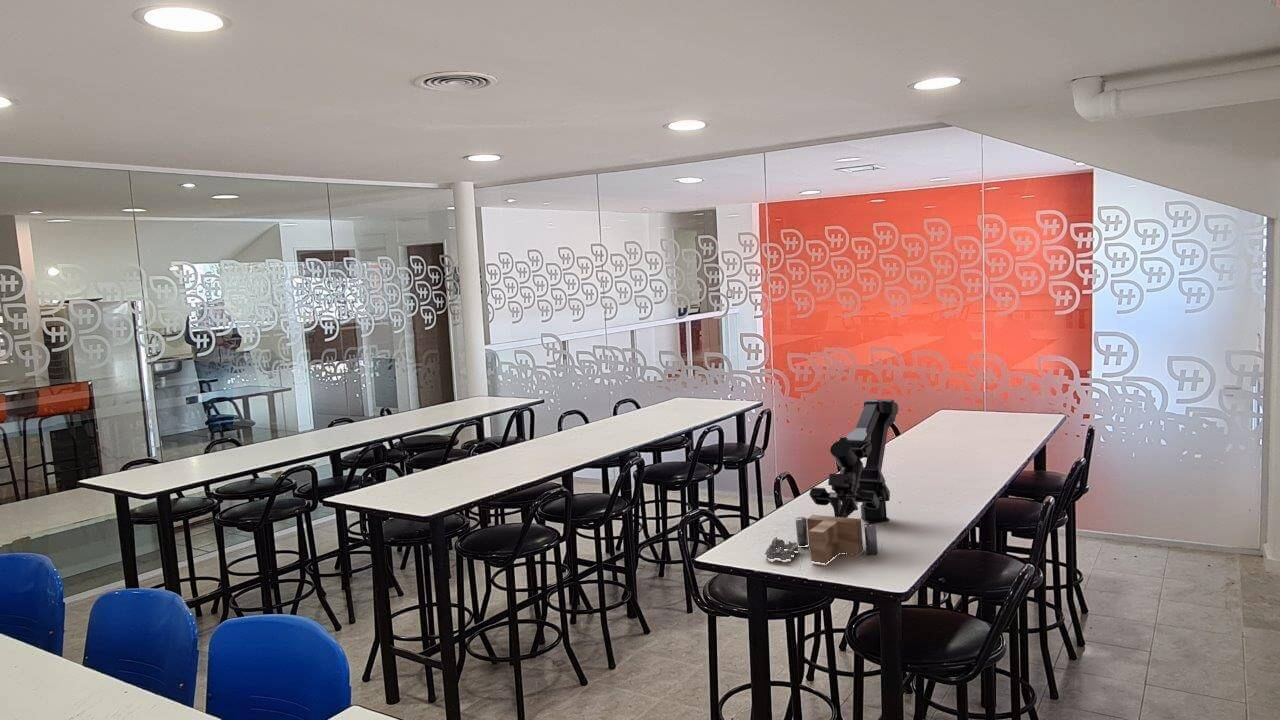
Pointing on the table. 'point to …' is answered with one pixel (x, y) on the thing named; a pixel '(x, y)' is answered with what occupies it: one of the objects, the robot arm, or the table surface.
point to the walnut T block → (833, 537)
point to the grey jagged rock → (781, 549)
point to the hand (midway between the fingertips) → (837, 524)
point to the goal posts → (869, 535)
